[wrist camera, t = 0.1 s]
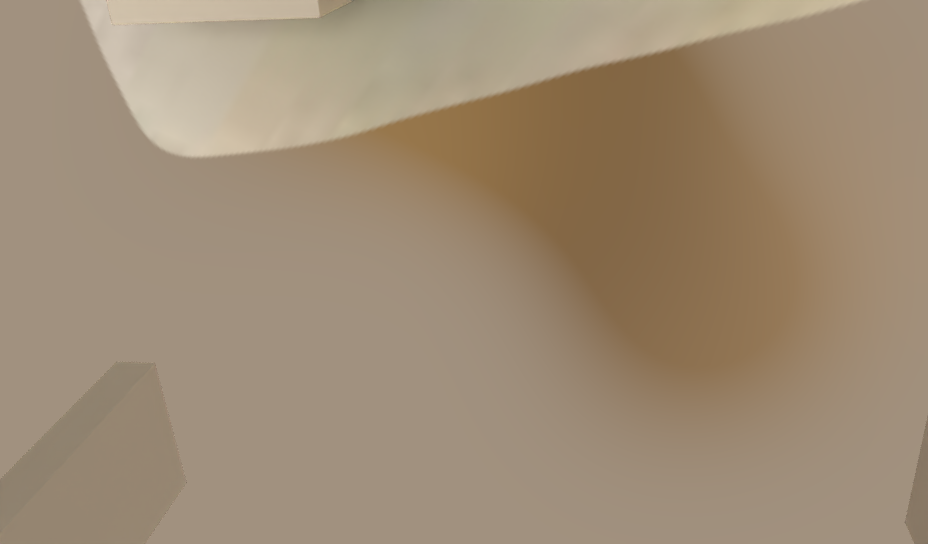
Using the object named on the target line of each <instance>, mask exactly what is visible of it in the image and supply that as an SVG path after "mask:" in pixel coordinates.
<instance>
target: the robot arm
mask: <svg viewBox="0 0 928 544" xmlns="http://www.w3.org/2000/svg"><path fill="white" fill-rule="evenodd" d="M186 483H187V482H186V478H185V475H184V471H183V467H182V463H181V459H180V456H179V452H178V448H177V444H176V441H175V437H174V433H173V429H172V425H171V422H170V418H169V414H168V410H167V407H166V403H165V399H164V395H163V392H162V388H161V384H160V380H159V377H158V373H157V369H156V365H155V363H135V362H116V363H115V364H114V365H113V366H112V367H111V368H110V369H109V370H108V371H107V372H106V373H105V374H104V375H103V376H102V377H101V378H100V379H99V380H98V381H97V382H96V383H95V384H94V385H93V386H92V387H91V388H90V389H89V390H88V391H87V392H86V393H85V394H84V395H83V396H82V397H81V398H80V399H79V400H78V401H77V402H76V403H75V404H74V405H73V406H72V407H71V408H70V409H69V411H67V412H66V414H65V415H63V417H62V418H60V419H59V420H58V421H57V422H56V423H55V424H54V426H53V427H52V428H51V429H50V430H49V431H48V432H47V433H46V434H45V435H44V436H43V437H42V438H41V439H40V440H39V441H38V442H37V443H36V444H35V445H34V446H33V447H32V448H31V449H30V450H29V451H28V452H27V453H26V454H25V455H24V456H23V457H22V458H21V459H20V460H19V461H18V462H17V463H16V464H15V465H14V466H13V467H12V468H11V469H10V470H9V471H8V472H7V473H6V474H5V475H4V476H3V477H2V478H1V479H0V544H145V543H146V542H147V540H148V539H149V537H150V536H151V534H152V533H153V531H154V530H155V528H156V527H157V525H158V524H159V522H160V521H161V519H162V518H163V516H164V515H165V514H166V512H167V511H168V509H169V508H170V506H171V505H172V503H173V502H174V500H175V499H176V497H177V496H178V495H179V493H180V492H181V490H182V489H183V487H184V486H185V484H186ZM905 524H906V526H907V528H908V530H909V532H910V535H911V537H912V539H913V541H914V544H928V417H927V421H926V426H925V431H924V435H923V440H922V445H921V449H920V455H919V459H918V463H917V468H916V473H915V478H914V482H913V487H912V492H911V496H910V501H909V506H908V510H907V515H906V520H905Z"/></svg>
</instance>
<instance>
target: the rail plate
mask: <svg viewBox="0 0 928 544" xmlns="http://www.w3.org/2000/svg"><path fill="white" fill-rule="evenodd" d="M106 1H107V6H108V10H109V14H110V19H111V23H112V25H125V24H154V23H183V22H212V21H240V20H269V19H298V18H320V17H322V16H324V15H326V14H328V13H330V12H332V11H334V10H336V9H338V8H340V7H342V6H344V5H346V4H348V3H350V2H352V1H354V0H106Z"/></svg>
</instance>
